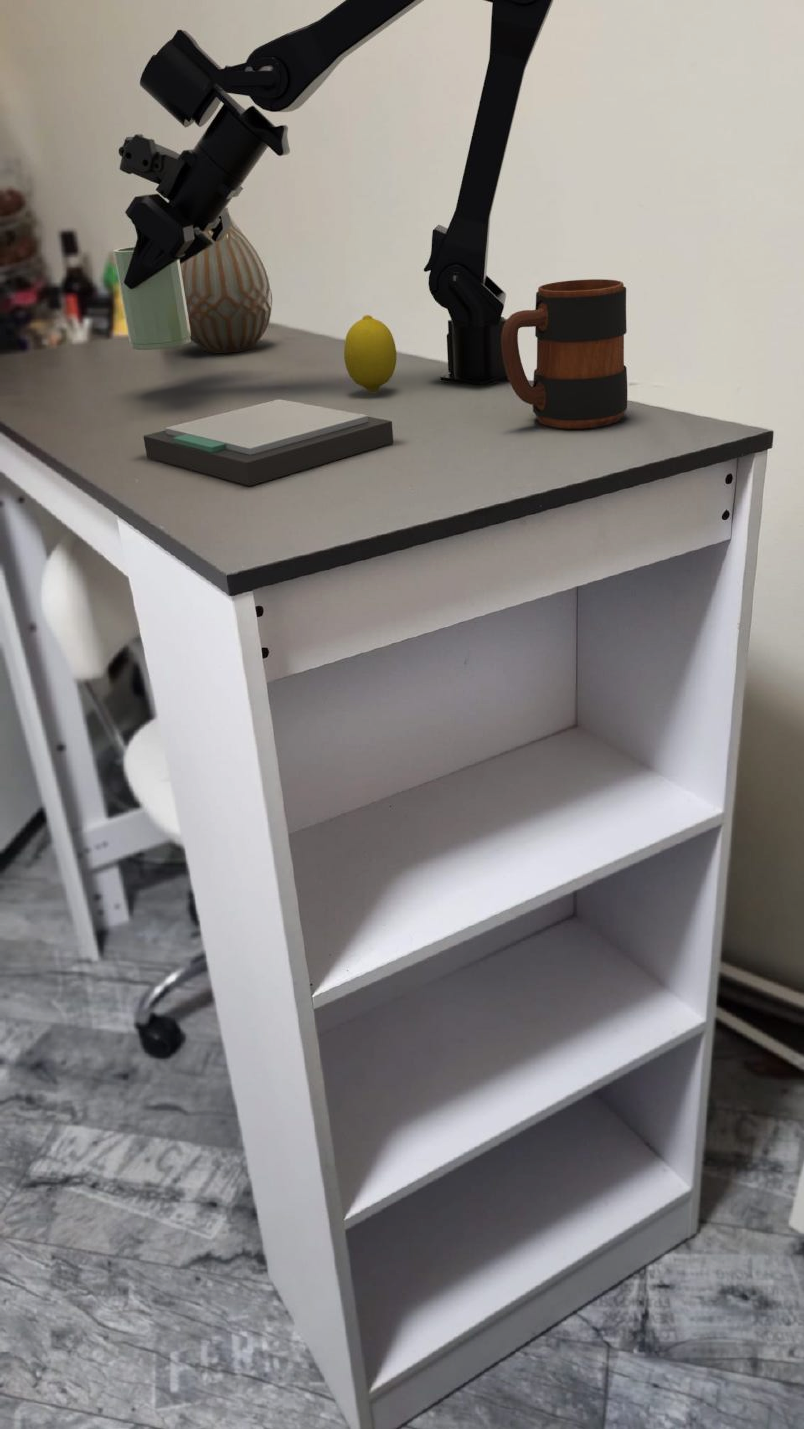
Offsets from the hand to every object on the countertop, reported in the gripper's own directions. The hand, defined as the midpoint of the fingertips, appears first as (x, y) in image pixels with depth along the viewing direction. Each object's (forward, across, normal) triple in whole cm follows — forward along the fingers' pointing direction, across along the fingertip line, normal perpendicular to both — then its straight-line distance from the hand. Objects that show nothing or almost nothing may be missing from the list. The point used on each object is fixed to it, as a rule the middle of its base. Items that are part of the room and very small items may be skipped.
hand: (138, 281), depth 120 cm
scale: (-5, +27, +22) cm, 35 cm away
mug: (-24, +20, +41) cm, 52 cm away
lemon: (-9, +4, +27) cm, 29 cm away
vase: (+8, -28, +9) cm, 30 cm away
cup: (+4, 0, +6) cm, 7 cm away
